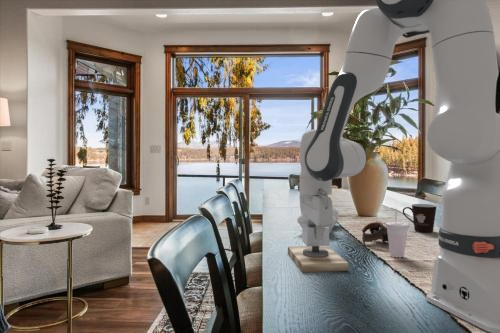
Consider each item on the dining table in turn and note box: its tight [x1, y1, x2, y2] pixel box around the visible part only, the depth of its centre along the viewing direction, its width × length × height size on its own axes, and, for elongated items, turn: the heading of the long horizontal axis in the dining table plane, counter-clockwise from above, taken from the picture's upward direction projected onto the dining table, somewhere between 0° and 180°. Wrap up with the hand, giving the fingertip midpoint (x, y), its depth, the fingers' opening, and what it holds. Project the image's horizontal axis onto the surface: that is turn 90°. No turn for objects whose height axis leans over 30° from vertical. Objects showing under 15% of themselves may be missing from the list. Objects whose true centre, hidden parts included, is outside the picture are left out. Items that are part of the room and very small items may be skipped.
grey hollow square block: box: [301, 224, 330, 247], centre depth 102 cm, size 6×6×5 cm
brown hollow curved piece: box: [361, 221, 389, 245], centre depth 123 cm, size 12×10×8 cm
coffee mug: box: [402, 203, 438, 234], centre depth 143 cm, size 12×9×10 cm
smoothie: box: [385, 208, 410, 259], centre depth 107 cm, size 6×6×14 cm
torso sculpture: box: [296, 206, 340, 234], centre depth 144 cm, size 16×11×30 cm
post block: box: [287, 245, 349, 273], centre depth 102 cm, size 18×12×8 cm, turn 6°
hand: (315, 236), depth 102 cm, fingers closed on grey hollow square block, 6 cm apart
